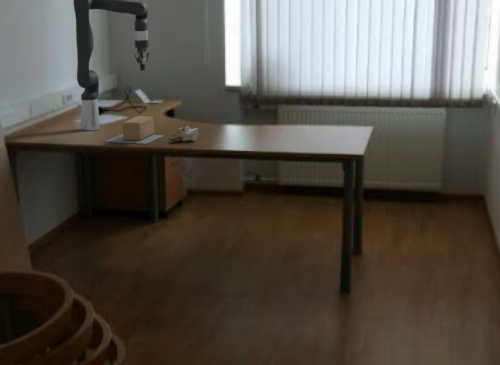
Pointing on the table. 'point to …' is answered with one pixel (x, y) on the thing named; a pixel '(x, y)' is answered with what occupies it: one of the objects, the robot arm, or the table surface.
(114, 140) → the mat
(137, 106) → the table surface
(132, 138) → the wooden block
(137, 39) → the robot arm
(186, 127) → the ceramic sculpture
